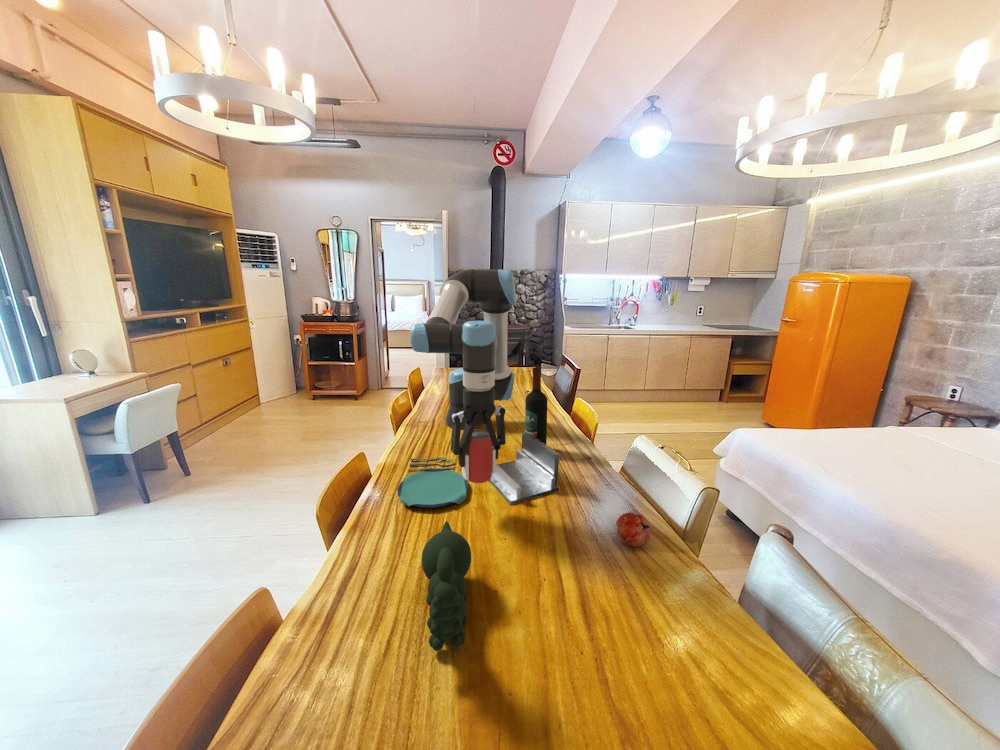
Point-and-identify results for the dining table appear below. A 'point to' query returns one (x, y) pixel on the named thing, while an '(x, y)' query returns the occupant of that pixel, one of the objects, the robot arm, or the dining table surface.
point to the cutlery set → (433, 486)
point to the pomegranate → (633, 529)
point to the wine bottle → (536, 409)
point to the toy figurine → (446, 586)
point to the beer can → (480, 456)
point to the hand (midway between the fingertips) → (478, 473)
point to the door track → (527, 472)
